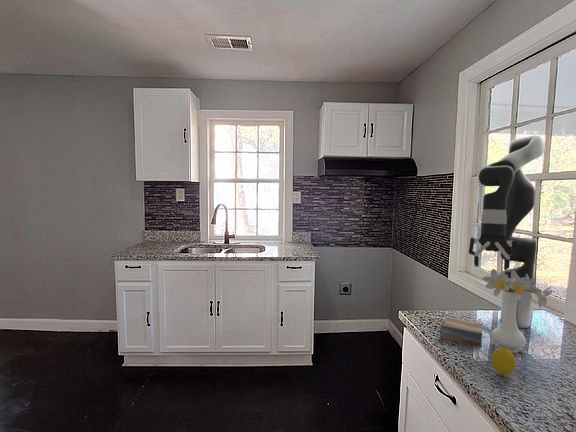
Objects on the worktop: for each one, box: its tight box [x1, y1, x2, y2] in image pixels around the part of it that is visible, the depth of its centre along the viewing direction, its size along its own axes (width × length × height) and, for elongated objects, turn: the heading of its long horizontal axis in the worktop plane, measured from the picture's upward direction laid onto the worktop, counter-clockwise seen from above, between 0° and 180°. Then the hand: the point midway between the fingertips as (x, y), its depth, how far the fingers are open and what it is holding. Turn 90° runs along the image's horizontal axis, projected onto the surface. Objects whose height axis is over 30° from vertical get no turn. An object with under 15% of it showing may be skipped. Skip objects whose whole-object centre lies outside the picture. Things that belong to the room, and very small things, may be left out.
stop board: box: [440, 316, 483, 348], centre depth 118 cm, size 18×12×4 cm, turn 150°
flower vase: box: [482, 268, 553, 354], centre depth 105 cm, size 13×18×25 cm
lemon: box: [490, 347, 516, 377], centre depth 91 cm, size 6×6×8 cm
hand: (490, 268), depth 117 cm, fingers open, 8 cm apart
